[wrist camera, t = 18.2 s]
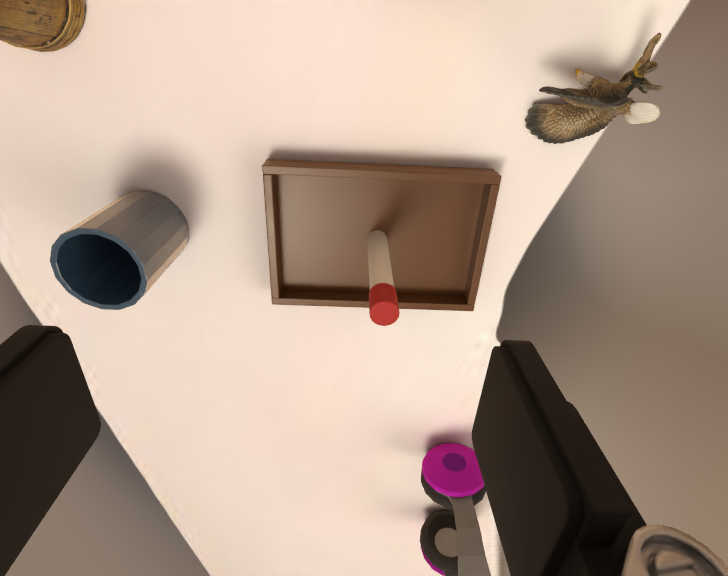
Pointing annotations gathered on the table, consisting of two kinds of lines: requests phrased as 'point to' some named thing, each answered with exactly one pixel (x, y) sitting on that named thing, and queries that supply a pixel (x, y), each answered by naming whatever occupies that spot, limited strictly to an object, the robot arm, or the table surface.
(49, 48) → the wooden mug
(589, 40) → the table surface
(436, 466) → the headphones
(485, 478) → the robot arm
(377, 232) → the marker
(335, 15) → the table surface
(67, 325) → the table surface
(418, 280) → the tray
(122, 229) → the pen cup
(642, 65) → the eagle figurine
